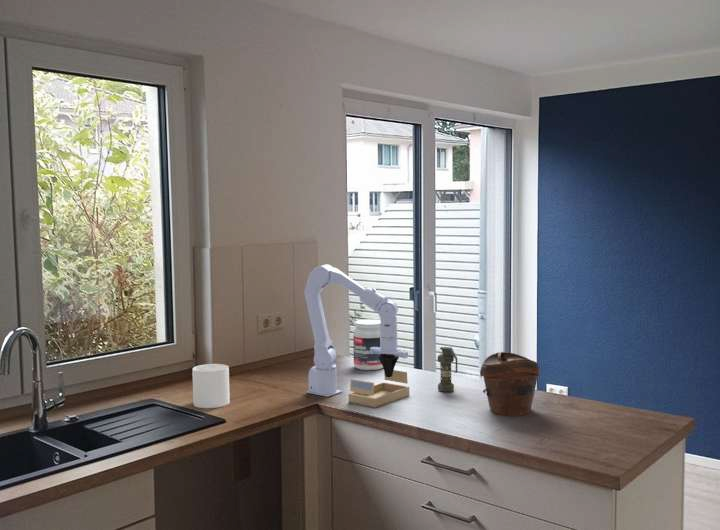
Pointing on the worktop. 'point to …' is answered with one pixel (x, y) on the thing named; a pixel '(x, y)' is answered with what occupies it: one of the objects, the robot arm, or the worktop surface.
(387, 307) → the robot arm
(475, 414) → the worktop surface
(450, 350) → the grenade
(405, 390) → the light wood shallow tray
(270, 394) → the worktop surface
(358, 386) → the near flap
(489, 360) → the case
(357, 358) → the supplement tub
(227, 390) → the white cylinder
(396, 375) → the far flap
